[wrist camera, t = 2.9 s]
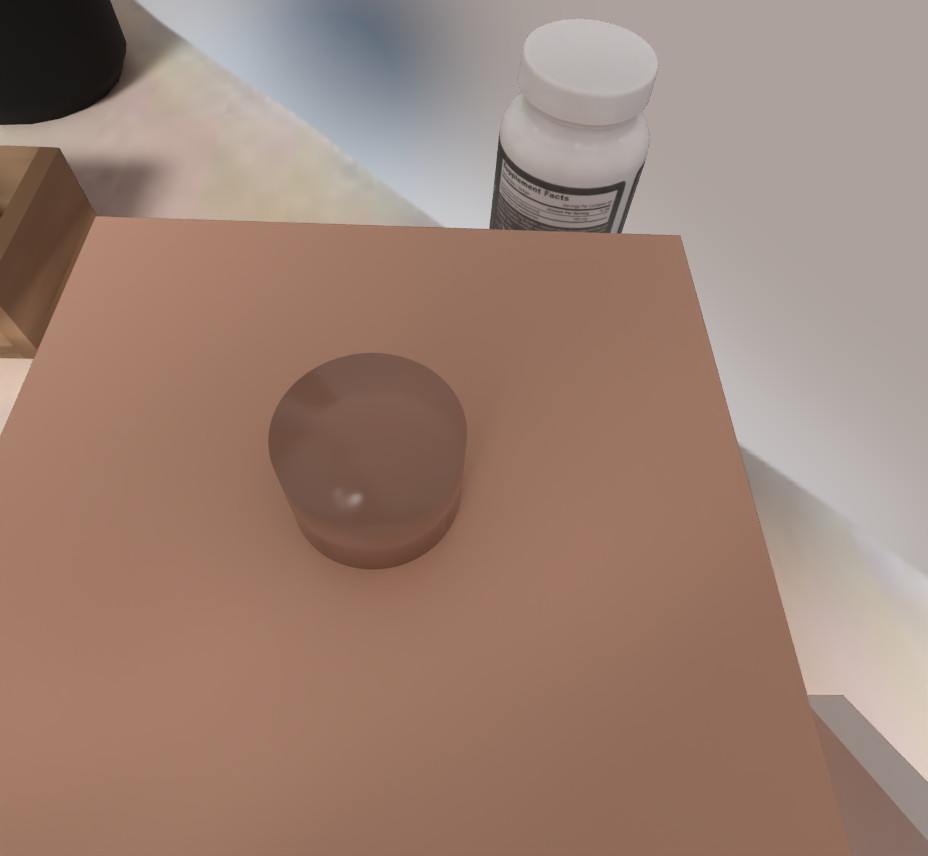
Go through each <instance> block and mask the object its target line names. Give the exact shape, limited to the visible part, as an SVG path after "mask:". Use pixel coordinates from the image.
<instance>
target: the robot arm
mask: <svg viewBox="0 0 928 856" xmlns="http://www.w3.org/2000/svg"><path fill="white" fill-rule="evenodd" d="M807 696H808V700H809V703H810V707H811V711H812V714H813V718H814V722H815V725H816V729H817V732H818V736H819V740H820V743H821V747H822V751H823V754H824V758H825V761H826V765H827V769H828V772H829V776H830V779H831V783H832V787H833V790H834V794H835V798H836V801H837V805H838V808H839V812H840V816H841V819H842V823H843V827H844V830H845V834H846V837H847V841H848V845H849V848H850V852H851V856H928V782H927V781H926V780H925V779H924V778H923V777H922V776H921V775H920V774H919V773H918V772H917V771H916V770H915V768H914V767H913V766H912V765H911V764H910V763H909V762H908V761H907V760H906V759H905V758H904V757H903V756H902V755H901V754H900V753H899V752H898V751H897V750H896V749H895V748H894V747H893V746H892V745H891V744H890V743H889V742H888V741H887V740H886V739H885V738H884V737H883V736H882V735H881V734H880V733H879V732H878V731H877V730H876V729H875V727H874V726H873V725H872V724H871V723H870V722H869V721H868V720H867V719H866V718H865V717H864V716H863V715H862V714H861V713H860V712H859V711H858V710H857V709H856V708H855V707H854V706H853V705H852V704H851V703H850V702H849V701H848V700H847V699H846V698H845V697H844V696H843V695H807Z"/></svg>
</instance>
